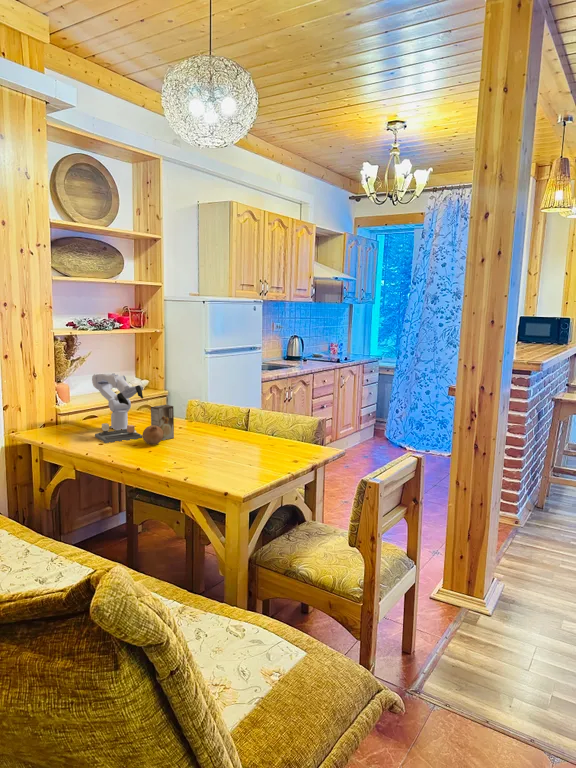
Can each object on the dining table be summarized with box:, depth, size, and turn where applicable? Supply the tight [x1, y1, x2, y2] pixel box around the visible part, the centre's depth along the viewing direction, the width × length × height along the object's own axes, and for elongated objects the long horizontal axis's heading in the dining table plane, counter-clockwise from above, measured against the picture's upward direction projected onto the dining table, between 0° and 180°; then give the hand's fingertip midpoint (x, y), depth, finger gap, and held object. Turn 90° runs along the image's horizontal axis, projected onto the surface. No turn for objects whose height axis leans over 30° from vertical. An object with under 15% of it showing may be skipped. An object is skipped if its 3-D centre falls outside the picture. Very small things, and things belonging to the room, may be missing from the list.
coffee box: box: [150, 404, 175, 441], centre depth 260 cm, size 9×6×16 cm
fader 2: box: [127, 424, 135, 435], centre depth 258 cm, size 3×2×5 cm
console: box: [94, 429, 143, 444], centre depth 260 cm, size 15×18×3 cm
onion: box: [142, 425, 163, 446], centre depth 250 cm, size 10×9×10 cm
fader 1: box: [101, 422, 110, 434], centre depth 260 cm, size 3×2×5 cm
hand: (134, 399), depth 262 cm, fingers open, 7 cm apart
